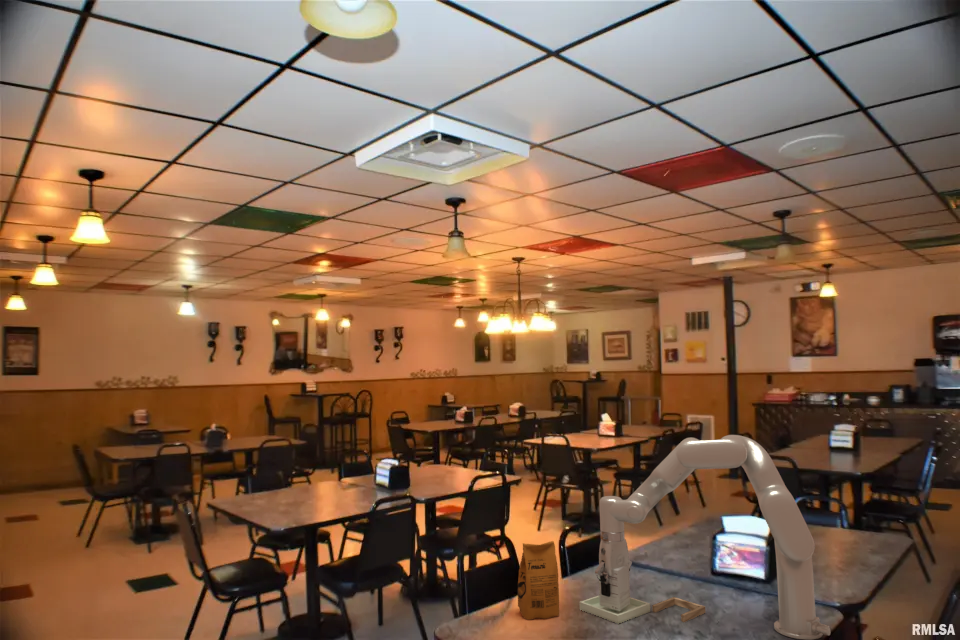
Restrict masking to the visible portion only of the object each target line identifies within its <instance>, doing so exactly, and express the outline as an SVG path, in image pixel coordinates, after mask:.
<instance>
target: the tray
mask: <svg viewBox="0 0 960 640" xmlns="http://www.w3.org/2000/svg"><path fill="white" fill-rule="evenodd" d="M581 610H582V611H581ZM579 611H581V612H584V611H585V612H584V613H586V612H587V614H589V613H591V614H590V615H592V614H594V615H596V616H595V617H597V616H599V617H598V618H600V617H602V618H604V619H603V620H605V619H607V620H606V621H608V620H609V621H608V622H611V621H612V622H611V623H613V622H615V623H614V624H616V623H617V624H616V625H620V624H619V623H621V624H622V622H623V623H625V622H624V621H626V622H628V621H630V620H629V619H631V620H633V619H636V618H638V617H640V616H643V615H645V614H648V613H650V612H651V603H649V602H646V601H644V600H640V599H636V598H633V597H631V596H630V604H629V605H628V606H626V607H625V608H623V609H622V610H621V611H617V610H613V609H610V608H606V607H603V606H600V601H599V595H597V596H596V595H595V596H593V597H590V598H587V599H585V600H580V601H579ZM594 615H593V616H594ZM635 617H636V618H635ZM602 618H601V619H602ZM632 618H633V619H632ZM627 620H628V621H627Z"/></svg>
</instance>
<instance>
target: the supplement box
mask: <svg viewBox="0 0 960 640" xmlns="http://www.w3.org/2000/svg"><path fill="white" fill-rule="evenodd" d="M602 571H603V572H606V569H605V568H604V569H603V570H602ZM606 573H607V572H606ZM606 576H607V575H605V574H604V578H605V579H606ZM608 583H609V584H610V597H607V596H604V595H602V594H601V582H600V581H599V580H598V594H599V595H598V596H599V601H600V606H603V607H606V608H610V609H613V610H617V611H621V610H622V609H623V608H625V607H626V606H628V605H629V604H630V597H631V592H630V591H631V590H630V589H631V588H630V587H631V586H630V584H631V583H630V571H629V565H625V566H622V567H619V568H617V569H614V576H610V579H609V582H608Z"/></svg>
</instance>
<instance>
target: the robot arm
mask: <svg viewBox="0 0 960 640" xmlns="http://www.w3.org/2000/svg"><path fill="white" fill-rule="evenodd" d="M739 467H742V468H743V470H744V472H745V473H746V476H747V478H748V481H749V482H750V484H751V486H752V489H753V490H754V492H755V495H756V497H757V500H758V505H759V509H760V511H761V513H762V516H763V519H764V520H765V522H766V524H767V526H768V528H769V530H770V533H771V536H772V538H773V539H774V550H775V562H776V579H777V580H776V581H777V598H778V599H777V600H778V616H779V619H778V620H776V621H775V622H773V628H774V630H775V631H776V632H777V633H779V634H781V635H783V636H785V637H789V638H792V639H797V640H818V639H820V638H822V637H823V635H825V636H831V628H830V625H827V624H824V623H822V622H820V621H821V620H820V617H818V616H816V602H815V601H816V598H815V583H814V566H813V554H814V552H815V548H816V545H815V540H814V537H813V536H812V533H811V531H810V529H809V527H808V524H807V522H806V520H805V518H804V517H803V514H802V512H801V510H800V508H799V506H798V504H797V502H796V500H795V499H794V496H793V495H792V493H791V492H790V491H789V489H788V488H787V486H786V485H785V482H784V480H783V478H782V476H781V475H780V472H779V471H778V468H777V467H776V465H775V463H774V461H773V459H772V457H771V456H770V454H769V453H768V451H766V449H765V448H764V447H763V445H761V444H760V443H758V442H757V441H756V440H754V439H752V438H749V437H747V436H742V435H739V434H728V435H725V436H722V437H721V438H720V439H709V440H708V439H704V440H703V439H702V440H700V439H698V438H696V437H686V438H684V439H683V440H682V441H680V443H678V444H677V445H676V447H675V448H674V449H672V450H671V451H670V453H669V454H668V455H667V456H666V457H665V458H664V459H663V460H662V461H661V462H660V463H659V464H658V465H657V466H656V467H655V468H654V469H653V470H652V471H651V473H650V475H649V476H648V477H647V478H646V479H645V480H644V481H643V482H642V484H640V485H639V486H638V488H637V489H636V490H635V491H634V492H633V493H632V494H631V495H630V496H629V497H628V498H627V499H622V498H621V497H620V496H616V495H607V496H606V495H605V496H602V497H600V499H599V501H598V502H599V523H600V525H599V526H600V528H599V529H600V543H599V550H598V551H599V552H598V566H597V567H596V568H595V570H594V574H595V575H596V578H597V580H598V582H599V581H600V582H601V594H602V595H604V596H607V597H610V584H609V583H608V582H609V579H610V576H614V569H617V568H619V567H622V566H625V565H629V572H630V571H631V566H632V563H633V561H632V560H630V553H629V548H628V547H629V546H628V542H627V540H626V536H625V523H628V524H639V523H640V524H641V523H642V522H643V521H645V519H646V517H647V515H648V513H649V512H651V510H652V509H653V508H654V507H655V506H656V505H657V504H658V503H659V502H660V501H661V500H662V499H663V498H664V497H665V496H667V494H669V493H671V492H673V491H675V490H676V489H677V488H679V486H681V485H682V483H683V482H685V480H686V479H687V478H688V477H689V476H690V475H691V474H692V473H693V472H695V470H712V469H715V470H716V469H717V470H719V469H736V468H739ZM604 568H605V569H606V572H607V573H606V572H603V571H602V570H603V569H604ZM604 574H605V575H607V576H606V579H605V578H604Z"/></svg>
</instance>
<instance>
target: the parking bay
mask: <svg viewBox="0 0 960 640" xmlns="http://www.w3.org/2000/svg"><path fill="white" fill-rule="evenodd" d="M651 606H652V607H651V611H652V612H651V613H658V612H660V611H663V610H665V608H666V609H668V608H670V607H673V606H678V607H680V608H683V609H687V610H689V611H687V612H684V613H682V614H680V622H681V621H682V622H681V623H686V622H688V620H689V621H691V620H693V619H695V617H696V618H698V617H700V616H702V615H704V613H705V614H706V612H707V611H706V605H702V604H700V603H699V604H698V603H696V602H695V603H694V602H692V601H688V600H685V599H682V598H679V597H675V596H672V597H670V598H667V599H665V600H662V601H660V602H657V603H654V604H652V605H651ZM699 615H700V616H699ZM697 616H698V617H697ZM690 619H691V620H690Z"/></svg>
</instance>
